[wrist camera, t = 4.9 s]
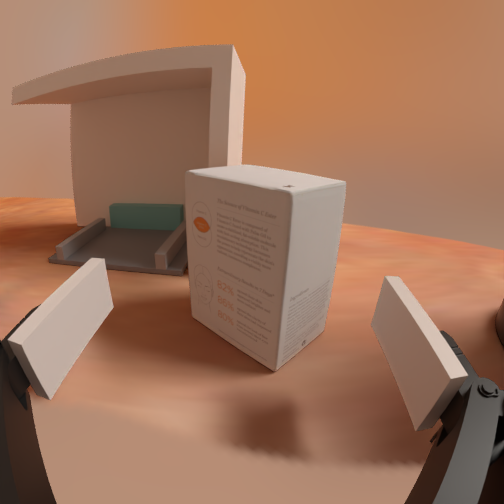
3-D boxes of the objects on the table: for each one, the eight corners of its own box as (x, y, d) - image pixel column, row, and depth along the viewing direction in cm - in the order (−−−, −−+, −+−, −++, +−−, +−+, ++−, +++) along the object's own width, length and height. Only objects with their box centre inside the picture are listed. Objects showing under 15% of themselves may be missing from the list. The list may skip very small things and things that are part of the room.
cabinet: (225, 279, 27) (232, 44, 19) (27, 259, 27) (12, 87, 19) (239, 229, 39) (245, 74, 31) (82, 223, 40) (77, 91, 32)
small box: (324, 333, 20) (351, 181, 16) (273, 376, 16) (294, 190, 12) (243, 291, 25) (248, 162, 21) (189, 317, 21) (183, 168, 17)
